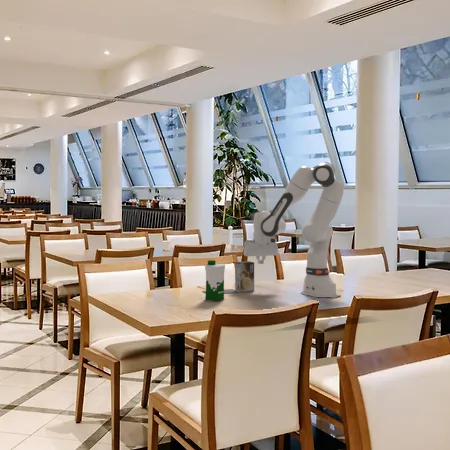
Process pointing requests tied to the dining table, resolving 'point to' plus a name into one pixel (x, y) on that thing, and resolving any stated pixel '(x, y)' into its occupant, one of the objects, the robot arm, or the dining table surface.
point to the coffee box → (244, 276)
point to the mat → (227, 291)
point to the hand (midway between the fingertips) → (260, 263)
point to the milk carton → (214, 281)
